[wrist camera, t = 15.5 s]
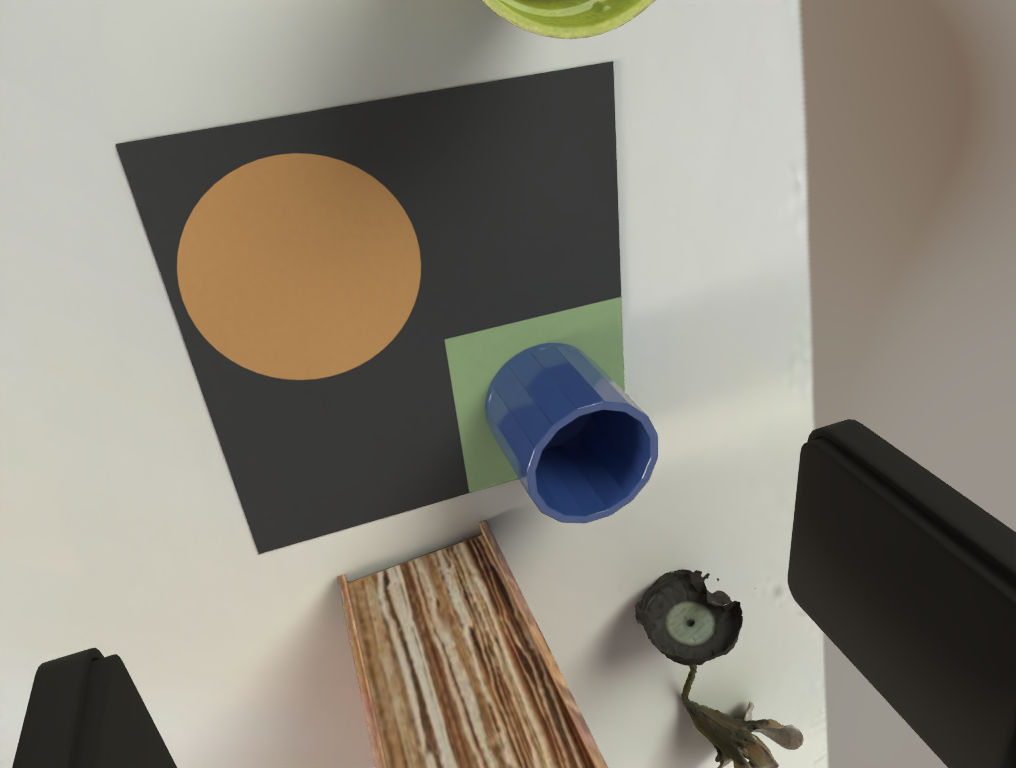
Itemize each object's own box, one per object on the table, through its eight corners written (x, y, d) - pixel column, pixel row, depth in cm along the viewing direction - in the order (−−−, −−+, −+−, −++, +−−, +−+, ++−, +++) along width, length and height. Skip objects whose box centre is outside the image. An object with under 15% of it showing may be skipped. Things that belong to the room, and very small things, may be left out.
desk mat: (258, 553, 43) (259, 554, 42) (115, 144, 32) (115, 144, 31) (625, 447, 48) (626, 447, 47) (612, 61, 37) (613, 61, 36)
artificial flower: (711, 532, 55) (833, 622, 48) (718, 695, 69) (814, 783, 62) (617, 607, 52) (734, 715, 45) (645, 762, 66) (738, 862, 59)
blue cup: (492, 464, 45) (534, 539, 39) (477, 359, 41) (521, 424, 35) (602, 433, 46) (658, 500, 40) (596, 329, 43) (657, 386, 37)
